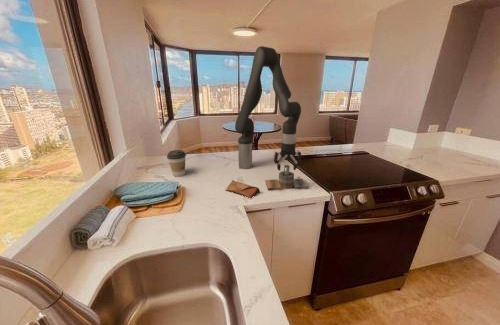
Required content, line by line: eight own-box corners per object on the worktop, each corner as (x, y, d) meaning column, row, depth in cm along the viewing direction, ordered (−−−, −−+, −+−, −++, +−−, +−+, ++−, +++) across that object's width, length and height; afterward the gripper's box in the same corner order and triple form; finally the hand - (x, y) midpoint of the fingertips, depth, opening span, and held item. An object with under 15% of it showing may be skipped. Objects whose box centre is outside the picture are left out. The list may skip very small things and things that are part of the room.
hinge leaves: (267, 190, 114) (268, 178, 112) (265, 182, 124) (265, 171, 121) (307, 188, 116) (309, 177, 114) (302, 180, 125) (303, 169, 123)
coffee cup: (183, 179, 128) (179, 155, 123) (166, 177, 130) (162, 154, 125) (191, 171, 138) (189, 149, 133) (175, 170, 141) (172, 148, 135)
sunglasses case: (223, 190, 114) (226, 178, 115) (230, 191, 121) (233, 180, 121) (251, 199, 106) (255, 186, 106) (257, 200, 112) (260, 188, 113)
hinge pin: (283, 186, 118) (285, 166, 114) (282, 184, 121) (283, 164, 117) (288, 186, 119) (290, 166, 114) (287, 184, 121) (288, 164, 117)
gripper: (299, 139, 115) (297, 166, 120) (273, 139, 113) (272, 167, 119) (304, 143, 108) (301, 172, 113) (276, 143, 106) (275, 173, 112)
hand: (286, 169), depth 116 cm, fingers open, 8 cm apart
